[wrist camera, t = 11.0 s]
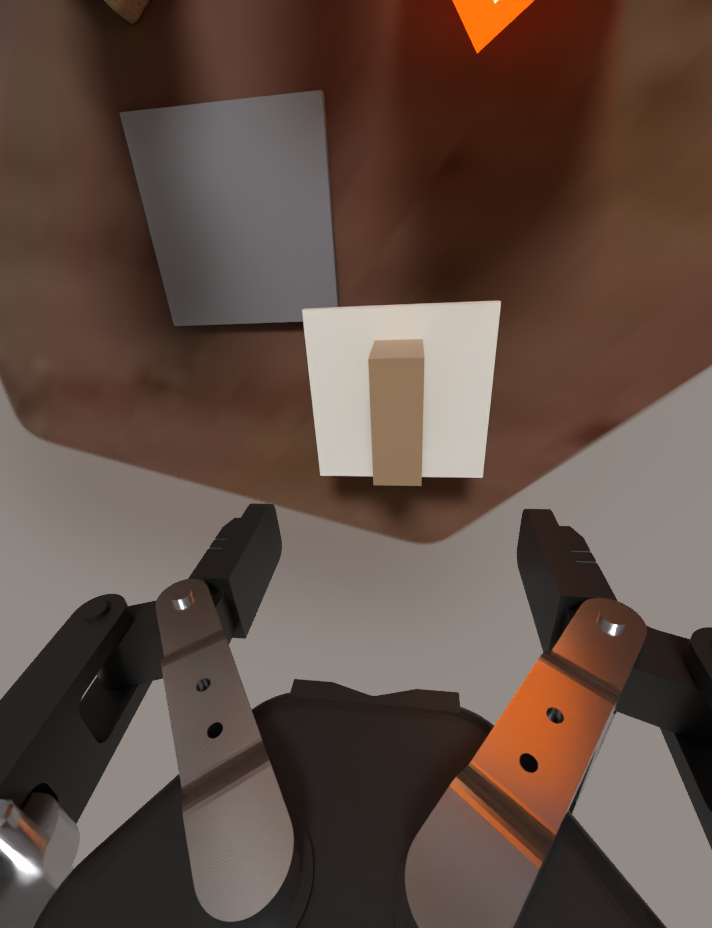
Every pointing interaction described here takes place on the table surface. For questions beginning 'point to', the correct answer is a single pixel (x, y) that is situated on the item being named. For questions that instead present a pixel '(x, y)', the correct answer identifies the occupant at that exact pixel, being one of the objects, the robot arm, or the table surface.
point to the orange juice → (488, 17)
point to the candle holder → (129, 8)
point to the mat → (238, 206)
